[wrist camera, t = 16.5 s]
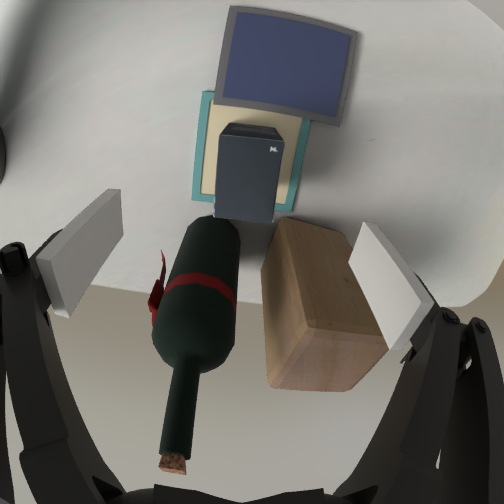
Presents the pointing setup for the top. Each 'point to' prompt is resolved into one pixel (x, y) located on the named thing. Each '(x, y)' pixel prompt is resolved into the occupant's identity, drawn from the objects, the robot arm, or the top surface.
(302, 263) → the wooden block
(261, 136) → the box
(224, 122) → the print frame
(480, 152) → the top surface
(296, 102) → the ink pad
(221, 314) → the wine bottle
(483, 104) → the top surface
